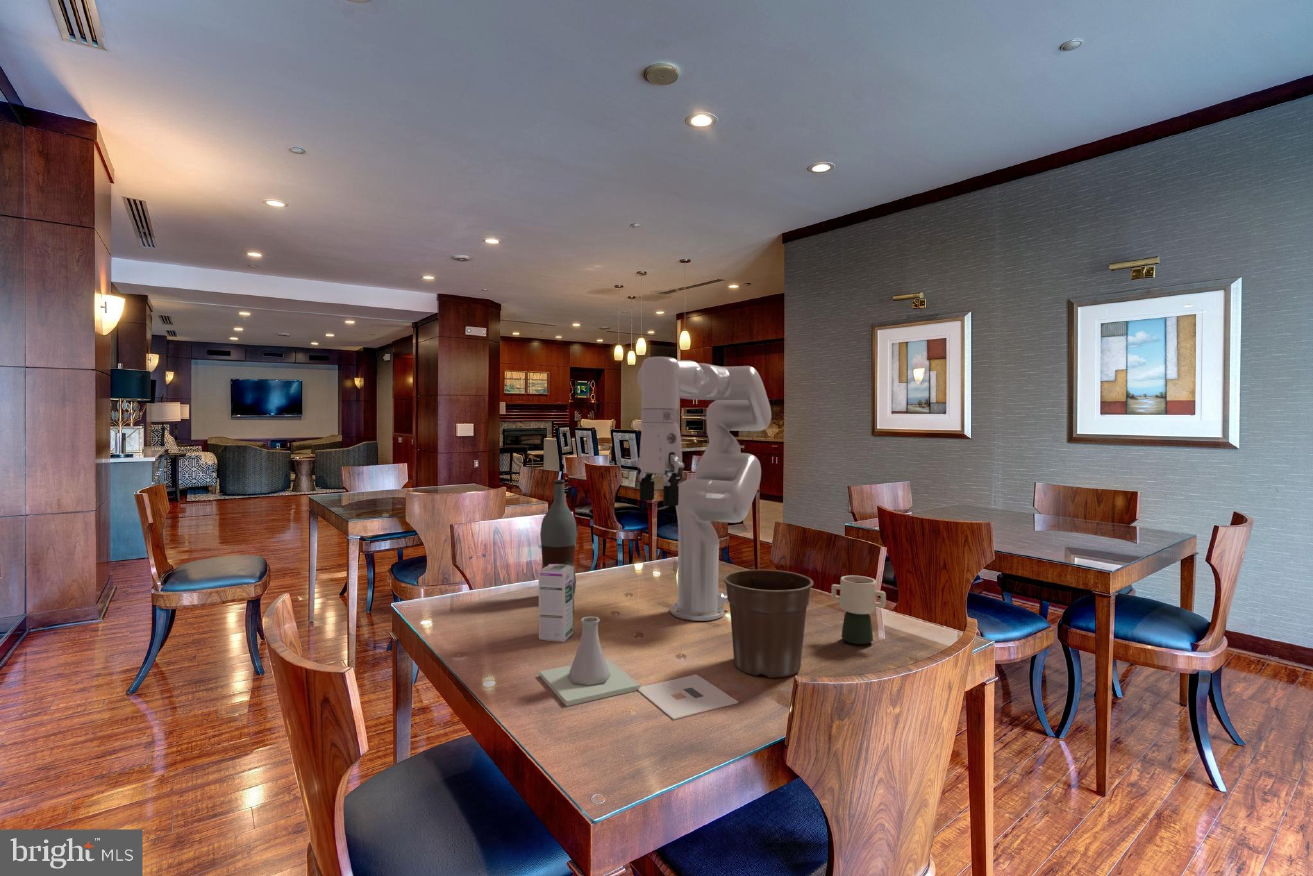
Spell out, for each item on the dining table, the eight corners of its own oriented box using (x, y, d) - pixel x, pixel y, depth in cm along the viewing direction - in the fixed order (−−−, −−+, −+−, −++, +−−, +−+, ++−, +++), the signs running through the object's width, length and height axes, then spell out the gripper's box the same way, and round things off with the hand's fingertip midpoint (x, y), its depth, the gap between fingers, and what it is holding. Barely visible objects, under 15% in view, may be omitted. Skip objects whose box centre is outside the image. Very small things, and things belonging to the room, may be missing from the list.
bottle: (577, 603, 149) (579, 481, 148) (539, 604, 147) (541, 481, 147) (574, 592, 158) (576, 478, 158) (538, 594, 156) (540, 478, 156)
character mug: (888, 642, 125) (889, 579, 125) (881, 652, 119) (882, 587, 119) (835, 632, 131) (836, 572, 130) (825, 641, 125) (827, 579, 124)
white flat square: (696, 675, 106) (696, 674, 106) (738, 703, 96) (738, 701, 96) (636, 689, 100) (636, 687, 100) (673, 720, 90) (673, 718, 90)
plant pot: (703, 660, 113) (705, 575, 113) (764, 643, 123) (765, 564, 123) (768, 692, 100) (770, 595, 100) (829, 670, 110) (831, 582, 110)
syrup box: (564, 642, 122) (565, 570, 121) (537, 640, 123) (538, 568, 123) (574, 633, 127) (575, 564, 127) (547, 630, 128) (548, 562, 128)
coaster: (607, 662, 112) (607, 658, 112) (640, 689, 100) (640, 684, 100) (539, 675, 105) (539, 671, 105) (566, 706, 94) (566, 701, 94)
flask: (568, 669, 106) (569, 612, 106) (609, 668, 107) (610, 612, 107) (566, 687, 99) (567, 626, 99) (611, 686, 100) (612, 625, 99)
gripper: (698, 418, 117) (697, 507, 117) (654, 419, 132) (653, 497, 132) (665, 417, 113) (663, 509, 113) (624, 418, 128) (622, 499, 128)
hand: (658, 502), depth 123 cm, fingers open, 9 cm apart
